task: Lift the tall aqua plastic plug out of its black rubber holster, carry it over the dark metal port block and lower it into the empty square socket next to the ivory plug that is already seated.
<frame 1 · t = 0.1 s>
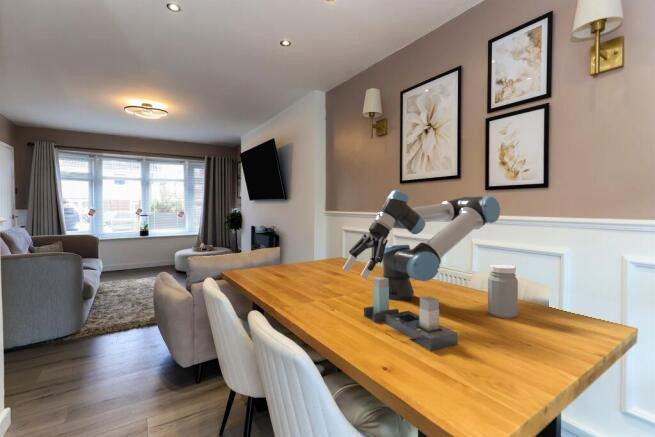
hand: (353, 274, 118), 15 cm above the table, tool tilted 35°, fingers open, 13 cm apart
jar: (502, 315, 117), on the table
holster: (381, 318, 114), on the table
port block: (418, 334, 100), on the table
plug: (381, 316, 114), point 1 cm above the table, touching holster
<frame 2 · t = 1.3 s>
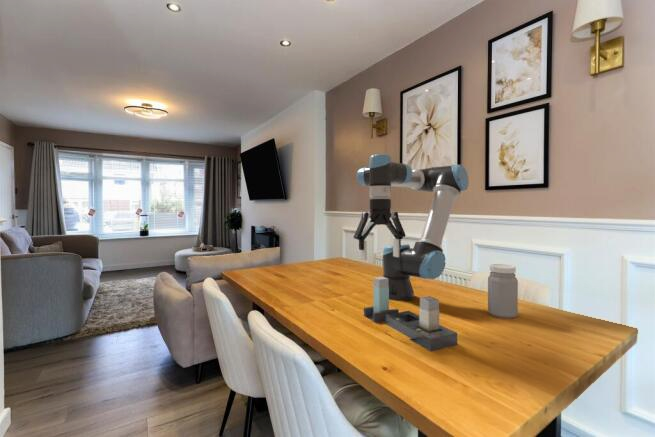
hand: (380, 258, 114), 22 cm above the table, tool pointing down, fingers open, 13 cm apart
nothing on the table moved.
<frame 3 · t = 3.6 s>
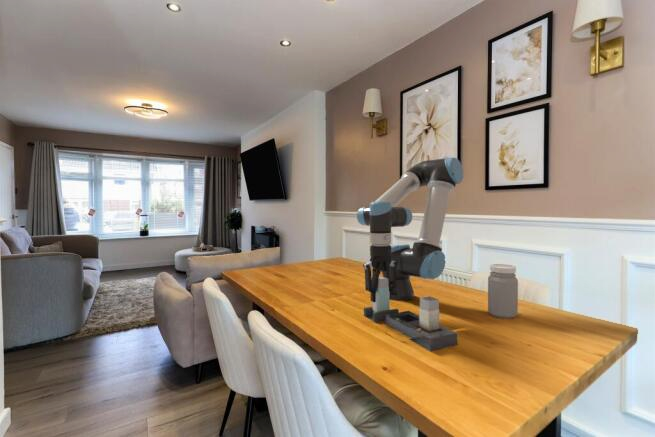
hand: (381, 309, 114), 3 cm above the table, tool pointing down, fingers closed on plug, 4 cm apart
plug: (381, 316, 114), point 1 cm above the table, touching gripper, holster
everything else where it was.
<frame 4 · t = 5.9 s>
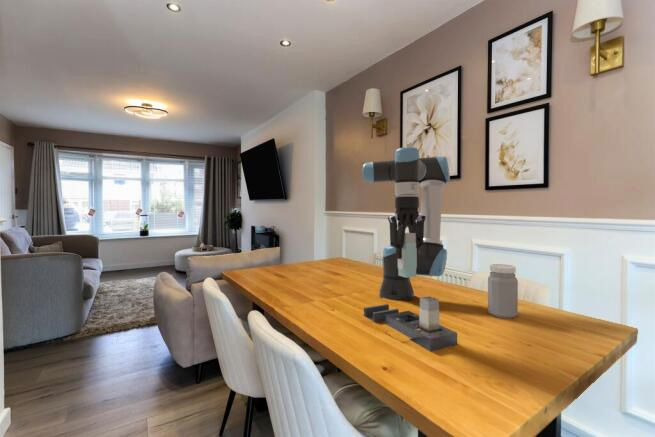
hand: (407, 268, 104), 20 cm above the table, tool pointing down, fingers closed on plug, 4 cm apart
plug: (407, 275, 104), point 17 cm above the table, touching gripper
everything else where it was.
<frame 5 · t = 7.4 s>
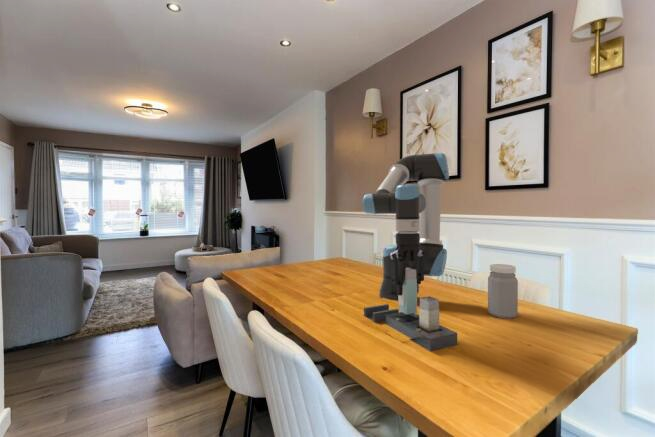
hand: (407, 303, 104), 8 cm above the table, tool pointing down, fingers closed on plug, 4 cm apart
plug: (407, 311, 104), point 6 cm above the table, touching gripper
everything else where it was.
when the fingers open (5 cm above the table, at t = 8.3 s): plug drops 2 cm, resting on port block.
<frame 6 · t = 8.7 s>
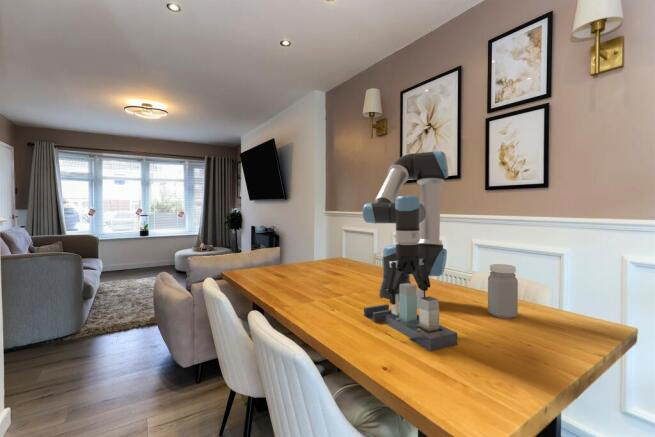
hand: (407, 311, 104), 6 cm above the table, tool pointing down, fingers open, 9 cm apart
plug: (407, 327, 105), point 1 cm above the table, touching port block
everything else where it was.
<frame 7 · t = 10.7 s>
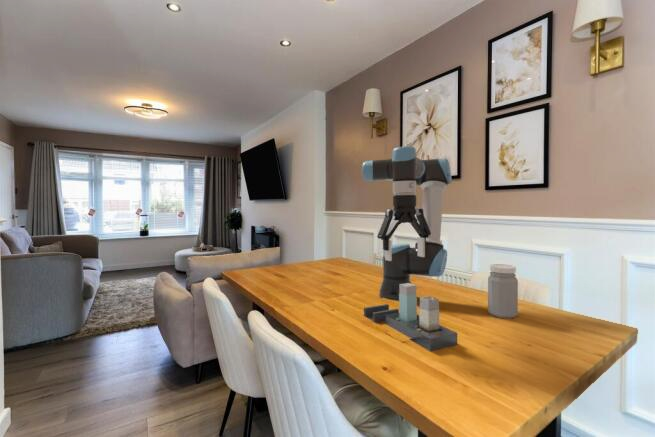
hand: (405, 258, 106), 23 cm above the table, tool pointing down, fingers open, 13 cm apart
nothing on the table moved.
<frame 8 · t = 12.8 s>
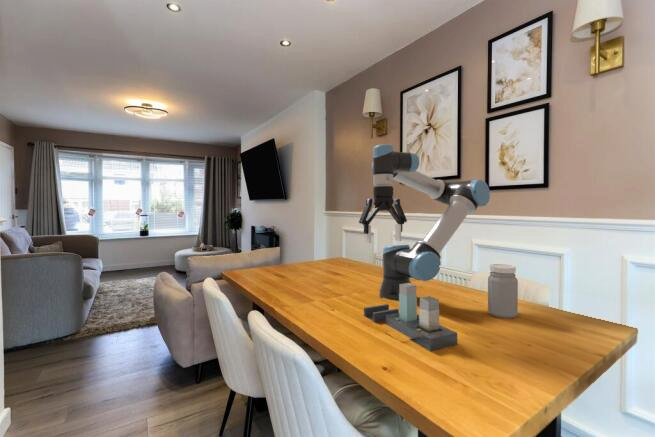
hand: (383, 241, 122), 27 cm above the table, tool pointing down, fingers open, 13 cm apart
nothing on the table moved.
at the end: plug 0.0 cm from the target spot on the port block, point 0.5 cm above the port block's base; plug tilted 0°; the gripper is holding nothing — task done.
